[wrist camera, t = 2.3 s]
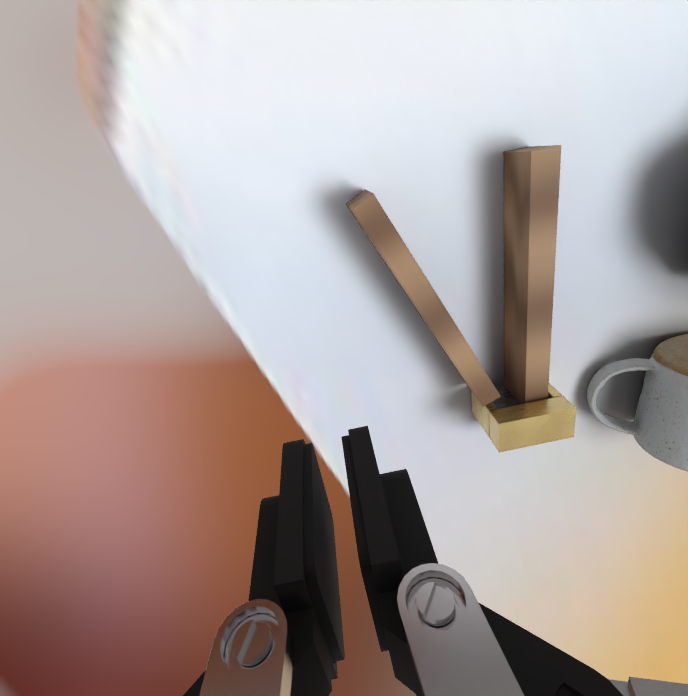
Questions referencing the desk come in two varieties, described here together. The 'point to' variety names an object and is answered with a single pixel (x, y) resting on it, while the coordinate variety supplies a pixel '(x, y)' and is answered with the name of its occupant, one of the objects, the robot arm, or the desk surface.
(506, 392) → the block
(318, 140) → the desk surface
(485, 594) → the desk surface
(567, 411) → the collar
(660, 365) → the ceramic mug
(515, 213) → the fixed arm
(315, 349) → the desk surface
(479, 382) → the bar
